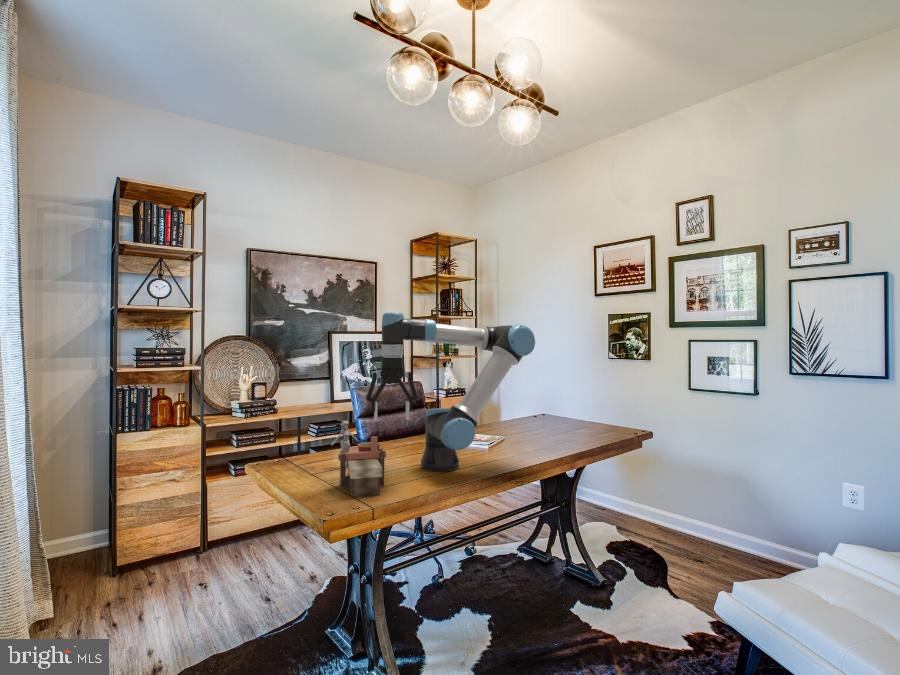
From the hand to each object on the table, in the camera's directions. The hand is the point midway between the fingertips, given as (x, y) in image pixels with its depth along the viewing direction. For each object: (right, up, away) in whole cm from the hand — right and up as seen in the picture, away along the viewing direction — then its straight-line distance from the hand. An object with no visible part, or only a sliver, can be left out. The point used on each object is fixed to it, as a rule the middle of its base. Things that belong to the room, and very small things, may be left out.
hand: (391, 420), depth 163 cm
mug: (-9, -22, +12) cm, 27 cm away
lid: (-8, -16, -7) cm, 19 cm away
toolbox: (-8, -22, -7) cm, 24 cm away
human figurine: (-21, -22, +19) cm, 36 cm away
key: (-10, -12, -3) cm, 16 cm away
